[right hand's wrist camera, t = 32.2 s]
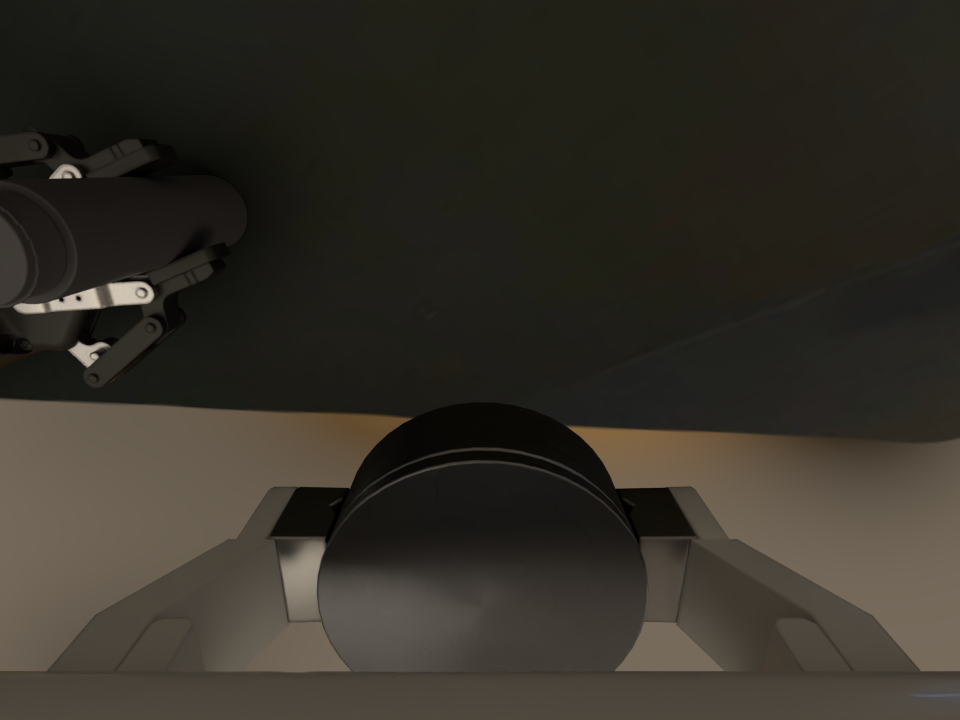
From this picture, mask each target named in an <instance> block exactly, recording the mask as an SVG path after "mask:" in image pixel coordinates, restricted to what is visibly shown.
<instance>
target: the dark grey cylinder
mask: <svg viewBox="0 0 960 720" xmlns="http://www.w3.org/2000/svg"><path fill="white" fill-rule="evenodd" d="M246 226H247V210H246V206H245V203H244V201H243V199H242V197H241V196H240V194H239V193H238V191H237V190H236V189H235V188H234V187H233V186H232V185H231V184H229V183H228V182H227V181H225V180H223V179H221V178H219V177H216V176H212V175H180V176H138V177H97V178H56V179H15V180H0V308H7V307H8V308H9V307H12V306H15V305H18V304H20V303H23V304H42V303H47V302H50V301H54V300H57V299H60V298H63V297H67V296H70V295H73V294H76V293H80V292H83V291H86V290H89V289H93V288H96V287H99V286H102V285H106V284H109V283H112V282H115V281H119V280H122V279H125V278H128V277H132V276H135V275H138V274H141V273H145V272H148V271H151V270H154V269H157V268H161V267H163V266H165V265H167V264H169V263H171V262H174V261H176V260H178V259H181V258H183V257H185V256H187V255H190V254H192V253H194V252H197V251H199V250H201V249H204V248H206V247H209V246H212V245H215V244H219V243H222V242H225V244H226V246H227V247H229V246H231V245H233V244H234V243H236V242H237V241H238V240H239V239H240V238H241V237H242V235H243V234H244V232H245V229H246Z"/></svg>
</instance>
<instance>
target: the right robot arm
mask: <svg viewBox="0 0 960 720" xmlns="http://www.w3.org/2000/svg"><path fill="white" fill-rule="evenodd" d="M349 490H350V489H349V488H323V487H299V488H298V487H273V488H271V489H270V490H269V491H268V492H267V493H266V495H265V497H264V498H263V500H262V501H261V503H260V504H259V506H258V507H257V509H256V510H255V512H254V513H253V515H252V516H251V518H250V519H249V521H248V522H247V524H246V525H245V527H244V528H243V530H242V531H241V533H240V534H239V536H238V537H237V539H228V540H226V541H224V542H223V543H221V544H219V545H218V546H216V547H214V548H212V549H210V550H209V551H207V552H205V553H203V554H202V555H200V556H198V557H196V558H195V559H193V560H191V561H189V562H188V563H186V564H184V565H182V566H181V567H179V568H177V569H175V570H174V571H172V572H170V573H168V574H167V575H165V576H163V577H161V578H160V579H158V580H156V581H154V582H152V583H151V584H149V585H147V586H145V587H144V588H142V589H140V590H138V591H137V592H135V593H133V594H131V595H130V596H128V597H126V598H124V599H123V600H121V601H119V602H117V603H116V604H114V605H112V606H110V607H109V608H107V609H105V610H103V611H102V612H100V613H98V614H96V615H95V616H94V617H93V618H92V619H91V621H90V622H89V623H88V624H87V625H86V626H85V628H84V629H83V630H82V631H81V632H80V633H79V635H78V636H77V637H76V638H75V639H74V640H73V642H72V643H71V644H70V645H69V646H68V647H67V648H66V650H65V651H64V652H63V653H62V654H61V655H60V657H59V658H58V659H57V660H56V661H55V662H54V663H53V665H52V666H51V667H50V668H49V669H48V670H47V671H0V720H960V671H920V670H919V668H918V667H917V666H916V665H915V664H914V663H913V662H912V660H911V659H910V658H909V657H908V656H907V655H906V653H905V652H904V651H903V650H902V649H901V648H900V647H899V645H898V644H897V643H896V642H895V641H894V640H893V639H892V637H891V636H890V635H889V634H888V633H887V632H886V631H885V629H884V628H883V627H882V626H881V625H880V624H879V623H878V621H877V620H876V619H875V618H874V617H873V616H872V615H870V614H868V613H867V612H865V611H863V610H861V609H860V608H858V607H856V606H854V605H853V604H851V603H849V602H847V601H846V600H844V599H842V598H840V597H838V596H837V595H835V594H833V593H831V592H830V591H828V590H826V589H824V588H822V587H821V586H819V585H817V584H815V583H814V582H812V581H810V580H808V579H807V578H805V577H803V576H801V575H800V574H798V573H796V572H794V571H792V570H791V569H789V568H787V567H785V566H784V565H782V564H780V563H778V562H777V561H775V560H773V559H771V558H770V557H768V556H766V555H764V554H762V553H761V552H759V551H757V550H755V549H754V548H752V547H750V546H748V545H747V544H745V543H743V542H741V541H739V540H738V539H729V538H728V537H727V535H726V534H725V532H724V531H723V529H722V528H721V526H720V525H719V523H718V522H717V521H716V519H715V518H714V516H713V515H712V513H711V512H710V510H709V509H708V507H707V506H706V504H705V503H704V502H703V500H702V499H701V497H700V496H699V494H698V493H697V491H696V490H695V489H694V488H692V487H666V488H629V489H616V492H617V494H618V497H619V499H620V501H621V504H622V506H623V509H624V511H625V513H626V516H627V518H628V521H629V523H630V525H631V528H632V530H633V533H634V535H635V538H636V540H637V542H638V545H639V547H640V550H641V553H642V556H643V558H644V561H645V564H646V570H647V576H648V585H649V599H648V605H647V611H646V617H645V620H644V622H674V623H677V626H678V627H679V628H680V629H682V630H683V631H684V632H685V633H686V634H687V635H688V636H689V637H690V638H691V639H692V640H693V641H694V642H695V643H696V644H697V645H698V646H699V647H700V648H701V649H702V650H703V651H704V652H705V653H707V654H708V655H709V656H710V657H711V658H712V659H713V660H714V661H715V662H716V663H717V664H718V665H719V666H720V667H721V668H722V669H723V670H724V671H242V670H243V669H244V668H245V667H246V666H247V665H248V664H249V663H250V662H251V661H252V660H253V659H254V658H255V657H256V656H257V655H258V654H259V653H260V652H261V651H262V650H263V649H264V648H266V646H268V645H269V644H270V643H271V642H272V641H273V640H274V639H275V638H276V637H277V636H278V635H279V634H280V633H281V632H282V631H283V630H284V629H285V628H286V627H287V626H288V623H291V622H322V621H321V618H320V614H319V610H318V601H317V576H318V571H319V567H320V562H321V558H322V556H323V553H324V551H325V548H326V546H327V543H328V541H329V539H330V536H331V534H332V531H333V529H334V526H335V524H336V522H337V519H338V517H339V514H340V512H341V509H342V507H343V505H344V502H345V500H346V497H347V495H348V493H349Z"/></svg>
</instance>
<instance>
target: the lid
mask: <svg viewBox="0 0 960 720" xmlns="http://www.w3.org/2000/svg"><path fill="white" fill-rule="evenodd" d="M648 599H649V585H648V576H647V570H646V564H645V561H644V558H643V556H642V553H641V550H640V547H639V545H638V542H637V540H636V538H635V535H634V533H633V530H632V528H631V525H630V523H629V521H628V518H627V516H626V513H625V511H624V509H623V506H622V504H621V501H620V499H619V497H618V494H617V492H616V489H615V487H614V484H613V482H612V480H611V477H610V475H609V473H608V471H607V470H606V468H605V466H604V464H603V462H602V461H601V460H600V458H599V457H598V456H597V454H596V453H595V452H594V450H593V449H592V448H591V447H590V446H589V445H588V444H587V443H586V442H585V441H584V440H583V439H582V438H581V437H580V436H578V435H577V434H576V433H574V432H573V431H572V430H570V429H569V428H568V427H566V426H565V425H563V424H561V423H559V422H558V421H556V420H554V419H552V418H550V417H548V416H546V415H543V414H541V413H538V412H536V411H533V410H530V409H526V408H522V407H518V406H515V405H508V404H501V403H487V402H474V403H464V404H456V405H451V406H447V407H442V408H438V409H435V410H432V411H430V412H427V413H424V414H421V415H419V416H417V417H415V418H413V419H411V420H409V421H407V422H405V423H403V424H402V425H400V426H399V427H398V428H396V429H395V430H393V431H392V432H390V433H389V434H388V435H387V436H385V437H384V438H383V439H382V440H381V441H380V442H379V443H378V444H377V445H376V446H375V447H374V448H373V449H372V451H371V452H370V453H369V454H368V455H367V457H366V458H365V459H364V461H363V463H362V465H361V466H360V468H359V469H358V471H357V473H356V476H355V478H354V480H353V483H352V485H351V488H350V490H349V493H348V495H347V497H346V500H345V502H344V505H343V507H342V509H341V512H340V514H339V517H338V519H337V522H336V524H335V526H334V529H333V531H332V534H331V536H330V539H329V541H328V543H327V546H326V548H325V551H324V553H323V556H322V558H321V562H320V567H319V571H318V576H317V601H318V610H319V614H320V618H321V621H322V625H323V628H324V630H325V632H326V634H327V637H328V639H329V641H330V643H331V645H332V646H333V648H334V649H335V651H336V652H337V654H338V655H339V657H340V658H341V659H342V661H343V662H344V663H345V664H346V665H347V666H348V668H349V669H350V670H351V671H615V669H616V668H617V667H618V666H619V665H620V664H621V663H622V662H623V661H624V659H625V658H626V656H627V655H628V654H629V652H630V651H631V649H632V648H633V646H634V644H635V642H636V640H637V638H638V636H639V634H640V632H641V629H642V626H643V623H644V620H645V617H646V611H647V605H648Z"/></svg>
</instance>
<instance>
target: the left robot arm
mask: <svg viewBox="0 0 960 720" xmlns="http://www.w3.org/2000/svg"><path fill="white" fill-rule="evenodd" d="M178 160H179V158H178V157H177V155H176V153H175V151H174V149H173V148H172V146H171V145H159V144H157V142H156V140H147V139H125V140H123V141H121V142H119V143H118V144H115V145H113V146H111V147H109V148H107V149H105V150H103V151H100V152H98V153H96V154H94V155H92V156H90V155H88V154H87V153H86V152H85V151H84V145H83V143H82V142H81V140H80V139H79V138H77V137H76V136H74V135H68V134H59V135H55V134H45V133H42V132H24V133H15V134H7V135H0V180H8V177H11V176H12V175H13V172H12V170H11V169H10V167H19V166H27V165H36V164H44V163H46V164H47V165H48V166H49V167H50V168H51V169H52V170H53V171H54V173H53V174H52V175H51V177H50V178H49V179H56V178H97V177H138V176H147V175H149V174H151V173H153V172H155V171H158V170H160V169H162V168H164V167H166V166H168V165H170V164H173V163H175V162H177V161H178ZM230 254H231V253H230V251H229V249H228V247H227V246H226V244H225V242H222V243H219V244H215V245H212V246H209V247H206V248H204V249H201V250H199V251H197V252H194V253H192V254H190V255H187V256H185V257H183V258H181V259H178V260H176V261H174V262H171V263H169V264H167V265H165V266H163V267H161V268H157V269H155V270H153V271H151V272H148V273H146V274H138V275H135V276H132V277H128V278H125V279H122V280H119V281H115V282H112V283H109V284H106V285H102V286H99V287H96V288H93V289H89V290H86V291H83V292H80V293H76V294H73V295H70V296H67V297H63V298H60V299H57V300H54V301H50V302H47V303H42V304H23V303H20V304H18V305H15V306H12V307H9V308H8V307H7V308H0V369H1V368H3V367H6V366H8V365H10V364H13V363H15V362H17V361H20V360H22V359H24V358H27V357H29V356H31V355H34V354H36V353H38V352H41V351H43V350H53V351H66V350H69V351H70V352H71V353H72V354H73V355H74V356H75V357H76V358H77V359H78V360H79V361H80V362H82V363H83V364H84V365H85V366H86V367H87V369H86V370H85V371H84V372H83V379H84V381H85V383H86V384H87V385H89V386H90V387H93V388H100V387H102V386H104V385H106V384H107V383H109V382H111V381H113V380H114V379H116V378H118V377H120V376H121V375H123V374H125V373H127V372H128V371H130V370H131V369H132V368H133V367H134V366H136V365H137V364H138V363H139V362H140V361H141V360H143V359H144V358H145V357H146V356H147V355H148V354H150V353H151V352H152V351H153V350H154V349H155V348H156V347H158V346H159V345H160V344H161V343H162V342H163V341H165V340H166V339H167V338H168V337H169V336H170V335H171V334H173V333H174V332H175V331H176V330H177V329H178V328H180V327H181V326H182V325H183V324H184V323H185V322H186V314H185V312H184V311H183V310H182V309H181V308H180V307H179V306H178V301H177V297H178V294H179V292H180V291H181V290H182V289H184V288H187V287H189V286H191V285H194V284H196V283H198V282H201V281H203V280H205V279H208V278H210V277H212V276H215V275H217V274H220V273H221V272H222V271H223V269H224V268H225V267H226V265H225V264H224V262H223V260H222V258H223V257H225V256H228V255H230ZM137 304H140V307H141V311H142V314H143V319H142V320H141V321H140V322H138V323H137V324H136V325H135V326H134V327H133V328H132V329H131V330H129V331H128V332H127V333H126V334H125V335H124V336H123V337H122V338H120V339H117V338H114V337H109V338H106V339H104V340H101V341H99V340H95V339H93V338H92V337H91V336H92V333H93V331H94V328H95V326H96V323H97V321H98V318H99V316H100V313H101V311H102V308H107V307H112V306H121V305H137Z"/></svg>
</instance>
